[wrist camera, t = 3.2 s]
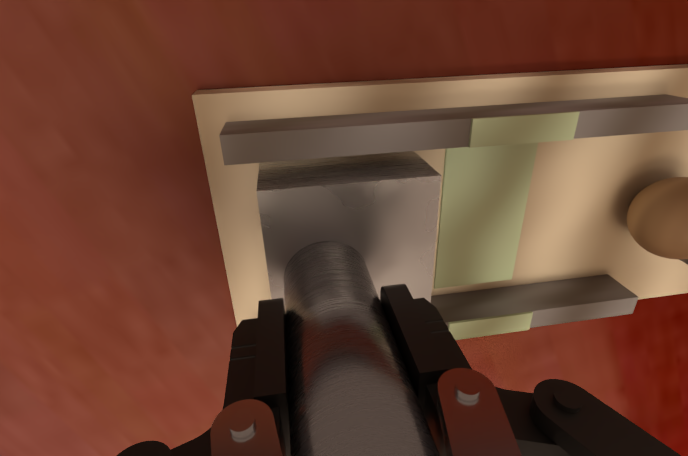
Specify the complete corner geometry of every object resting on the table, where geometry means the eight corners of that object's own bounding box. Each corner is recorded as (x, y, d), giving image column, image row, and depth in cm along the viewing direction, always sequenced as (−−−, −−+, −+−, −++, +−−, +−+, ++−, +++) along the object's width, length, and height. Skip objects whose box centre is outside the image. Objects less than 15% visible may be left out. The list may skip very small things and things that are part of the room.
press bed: (786, 58, 18) (916, 67, 15) (690, 278, 24) (767, 324, 20) (197, 89, 15) (172, 111, 11) (243, 335, 20) (237, 404, 17)
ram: (413, 150, 16) (696, 401, 5) (406, 294, 19) (573, 632, 8) (259, 162, 15) (226, 483, 4) (278, 310, 18) (286, 702, 8)
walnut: (690, 163, 19) (776, 191, 15) (664, 231, 20) (737, 270, 17) (620, 169, 18) (694, 199, 15) (599, 239, 20) (662, 280, 17)
